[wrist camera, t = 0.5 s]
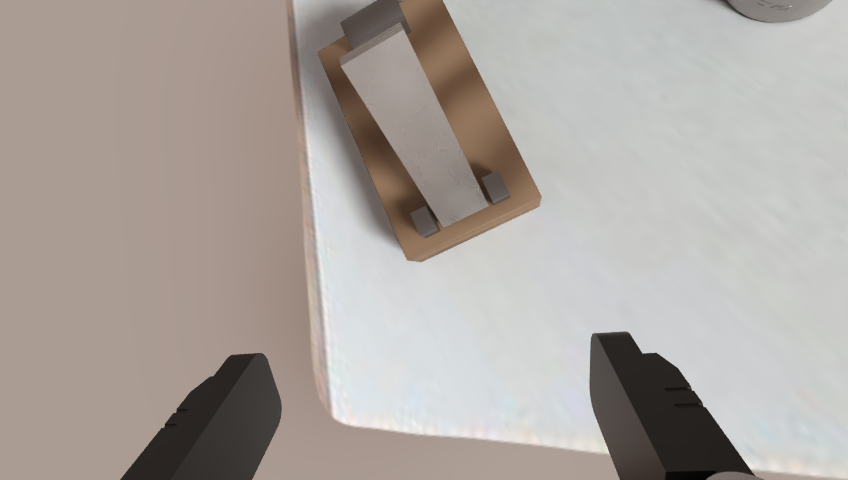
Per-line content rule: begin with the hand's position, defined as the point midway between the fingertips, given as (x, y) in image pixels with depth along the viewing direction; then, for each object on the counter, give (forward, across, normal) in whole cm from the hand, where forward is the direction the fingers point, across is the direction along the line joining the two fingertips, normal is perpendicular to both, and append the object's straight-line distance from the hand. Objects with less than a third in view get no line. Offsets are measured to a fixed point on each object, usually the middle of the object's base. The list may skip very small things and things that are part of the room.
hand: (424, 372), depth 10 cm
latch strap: (+21, +1, -2) cm, 22 cm away
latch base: (+33, +2, 0) cm, 33 cm away
